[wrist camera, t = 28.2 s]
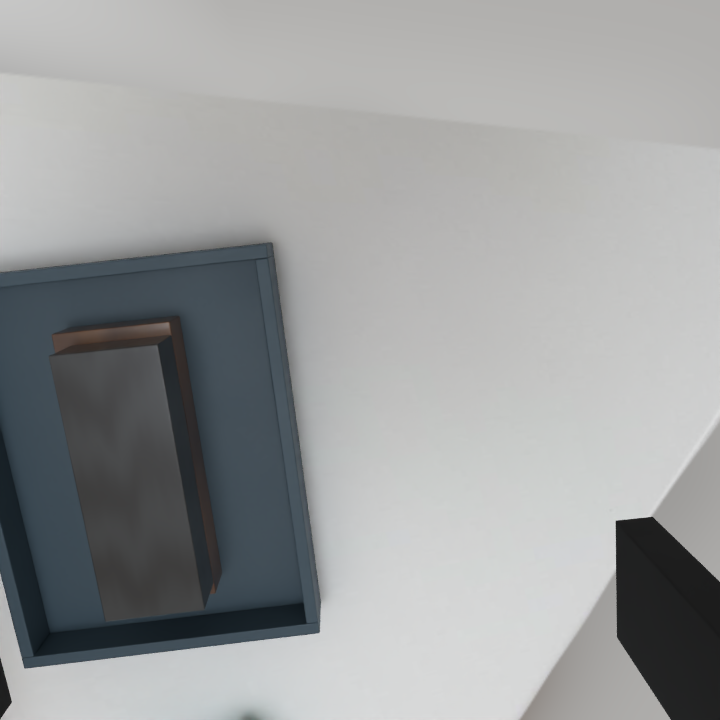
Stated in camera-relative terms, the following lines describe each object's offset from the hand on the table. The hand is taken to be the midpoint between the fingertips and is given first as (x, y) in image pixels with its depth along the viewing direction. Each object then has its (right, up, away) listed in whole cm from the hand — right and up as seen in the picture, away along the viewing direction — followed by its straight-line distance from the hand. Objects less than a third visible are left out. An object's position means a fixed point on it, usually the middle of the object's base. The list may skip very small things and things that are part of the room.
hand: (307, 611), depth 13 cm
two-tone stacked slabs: (-9, -1, +26) cm, 27 cm away
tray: (-13, -1, +29) cm, 32 cm away
